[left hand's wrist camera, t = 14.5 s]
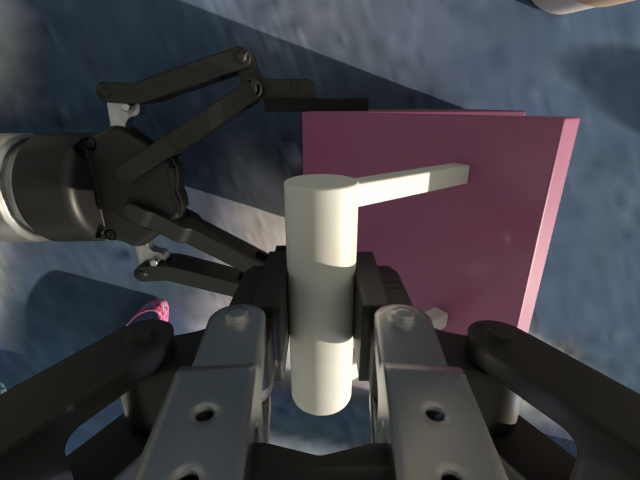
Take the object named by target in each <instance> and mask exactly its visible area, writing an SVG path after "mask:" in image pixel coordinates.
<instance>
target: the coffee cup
mask: <svg viewBox="0 0 640 480" xmlns="http://www.w3.org/2000/svg"><path fill="white" fill-rule="evenodd" d="M532 1H533V3H534V4H535V5H536V6H537V7H539V8H540V9H542V10H543V11H545V12H548V13H551V14H568V13H572V12H576V11H581V10H585V9H589V8H594V7H605V6H611V5H616V4H620V3H625V2H629V1H634V0H532Z"/></svg>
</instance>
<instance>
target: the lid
mask: <svg viewBox="0 0 640 480" xmlns="http://www.w3.org/2000/svg"><path fill="white" fill-rule="evenodd" d="M579 121H580V118H579V117H557V116H509V115H462V114H415V113H368V112H321V111H313V112H302V135H303V175H301V176H295V177H292V178H289V179H287V180H285V182H284V202H285V228H286V255H287V274H288V301H289V328H290V359H291V385H292V397H293V400H294V402H295V403H296V405H297V406H298V407H299V408H300V409H302V410H303V411H305V412H307V413H309V414H313V415H321V416H322V415H330V414H334V413H336V412H338V411H340V410H342V409H343V408H344V407H345V406H346V405H347V404H348V402H349V400H350V398H351V387H352V380H353V379H355V378H357V377H358V371H357V364H356V356H355V349H354V348H353V314H354V288H355V270H356V253H357V252H373V255H374V258H375V260H376V263H377V266H390V267H391V268H392V269H394V270H395V271H396V272H398V274H399V276H400V278H401V282H402V283H403V285H404V288H405V289H406V291H407V294H408V296H409V298H410V300H411V302H412V304H413V307H415V308H418V309H420V310H422V311H424V312H425V313H426V314H427V315H428V316H429V317H430V319H431V321H432V323H433V326H434V328H436V329H439V330H442V331H446V332H450V333H456V334H461V335H466V336H467V332H468V328H469V326H470V325H471V324H472V323H474V322H477V321H481V320H493V321H500V322H504V323H507V324H510V325H513V326H515V327H517V328H519V329H521V330H523V331H525V332H526V333H528V331H529V326H530V322H531V318H532V314H533V310H534V306H535V302H536V298H537V294H538V289H539V285H540V281H541V277H542V273H543V269H544V265H545V261H546V256H547V252H548V248H549V244H550V240H551V236H552V232H553V228H554V224H555V219H556V215H557V211H558V207H559V203H560V199H561V195H562V191H563V186H564V182H565V178H566V174H567V170H568V166H569V162H570V158H571V154H572V149H573V145H574V141H575V137H576V133H577V129H578V125H579Z"/></svg>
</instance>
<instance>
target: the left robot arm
mask: <svg viewBox="0 0 640 480" xmlns="http://www.w3.org/2000/svg"><path fill="white" fill-rule="evenodd" d="M289 335H290V328H289V301H288V274H287V255H286V252H269V255H268V258H267V260H266V263H265V266H252V267H251V268H250V269H248V270H247V271H246V272H244V274H243V276H242V279H241V282H240V283H239V285H238V289H237V290H236V292H235V294H234V296H233V299H232V301H231V303H230V305H229V306H227V307H225V308H222V309H220V310H218V311H217V312H215V313H214V314H213V315H212V316H211V317H210V319H209V321H208V324H207V326H206V329H203V330H200V331H196V332H192V333H186V334H181V335H176V336H175V335H174V329H173V326H172V325H171V324H170V323H169V322H167V321H164V320H158V319H151V320H143V321H138V322H135V323H132V324H129V325H127V326H125V327H123V328H121V329H119V330H117V331H115V332H114V333H112V334H110V335H108V336H106V337H104V338H103V339H101V340H99V341H97V342H95V343H93V344H92V345H90V346H88V347H86V348H84V349H82V350H81V351H79V352H77V353H75V354H73V355H71V356H70V357H68V358H66V359H64V360H62V361H60V362H59V363H57V364H55V365H53V366H51V367H49V368H48V369H46V370H44V371H42V372H40V373H38V374H37V375H35V376H33V377H31V378H29V379H27V380H26V381H24V382H22V383H20V384H18V385H16V386H15V387H13V388H11V389H9V390H7V391H5V392H4V393H2V394H0V480H640V394H638V393H636V392H635V391H633V390H631V389H629V388H627V387H625V386H624V385H622V384H620V383H618V382H616V381H614V380H613V379H611V378H609V377H607V376H605V375H603V374H602V373H600V372H598V371H596V370H594V369H592V368H591V367H589V366H587V365H585V364H583V363H581V362H580V361H578V360H576V359H574V358H572V357H570V356H569V355H567V354H565V353H563V352H561V351H559V350H558V349H556V348H554V347H552V346H550V345H548V344H547V343H545V342H543V341H541V340H539V339H537V338H536V337H534V336H532V335H530V334H528V333H526V332H525V331H523V330H521V329H519V328H517V327H515V326H513V325H510V324H507V323H504V322H500V321H493V320H481V321H477V322H474V323H472V324H471V325H470V326H469V328H468V332H467V336H466V335H461V334H456V333H450V332H446V331H442V330H439V329H436V328H434V326H433V323H432V321H431V319H430V317H429V316H428V315H427V314H426V313H425V312H424V311H422V310H420V309H418V308H415V307H413V304H412V302H411V300H410V298H409V296H408V294H407V291H406V289H405V288H404V285H403V283H402V282H401V278H400V276H399V274H398V272H396V271H395V270H394V269H392V268H391V267H390V266H377V263H376V260H375V258H374V255H373V252H357V253H356V270H355V288H354V314H353V342H354V349H355V356H356V364H357V371H358V378H359V381H369V384H370V396H369V412H370V431H371V444H368V445H364V446H360V447H356V448H352V449H348V450H344V451H340V452H336V453H332V454H327V455H322V456H318V455H313V454H308V453H304V452H300V451H296V450H292V449H288V448H284V447H280V446H276V445H272V444H269V432H270V413H271V396H270V394H271V392H272V388H273V382H274V381H284V373H285V365H286V358H287V350H288V343H289ZM119 397H120V398H121V402H122V406H123V410H124V413H123V414H122V415H121V416H119V417H118V418H117V419H115V420H114V421H113V422H111V423H110V424H109V425H107V426H106V427H105V428H103V429H102V430H101V431H100V432H98V433H97V434H96V435H94V436H93V437H92V438H90V439H89V440H88V441H86V442H85V443H84V444H82V445H81V446H80V447H78V448H77V449H76V450H74V451H73V452H72V453H70V454H69V455H68V456H67V457H66V456H65V446H66V443H67V441H68V439H69V437H70V436H71V434H72V433H73V432H74V431H75V430H76V429H77V428H78V427H79V426H80V425H81V424H83V423H84V422H85V421H87V420H88V419H90V418H91V417H92V416H94V415H95V414H97V413H98V412H100V411H101V410H102V409H104V408H105V407H107V406H108V405H109V404H111V403H112V402H114V401H115V400H116V399H118V398H119ZM522 399H524V400H525V401H526V402H528V403H529V404H531V405H532V406H533V407H535V408H536V409H538V410H539V411H540V412H542V413H543V414H545V415H546V416H548V417H549V418H550V419H552V420H553V421H555V422H556V423H557V424H559V425H560V426H561V427H563V428H564V429H565V430H566V431H567V432H568V433H569V434H570V435H571V437H572V438H573V440H574V442H575V444H576V446H577V450H578V455H577V458H575V457H573V456H572V455H571V454H570V453H568V452H567V451H566V450H564V449H563V448H562V447H560V446H559V445H558V444H556V443H555V442H554V441H552V440H551V439H550V438H548V437H547V436H546V435H544V434H543V433H542V432H540V431H539V430H538V429H537V428H535V427H534V426H533V425H531V424H530V423H529V422H527V421H526V420H525V419H523V418H522V417H521V416H519V415H518V414H519V410H520V407H521V403H522Z"/></svg>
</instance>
